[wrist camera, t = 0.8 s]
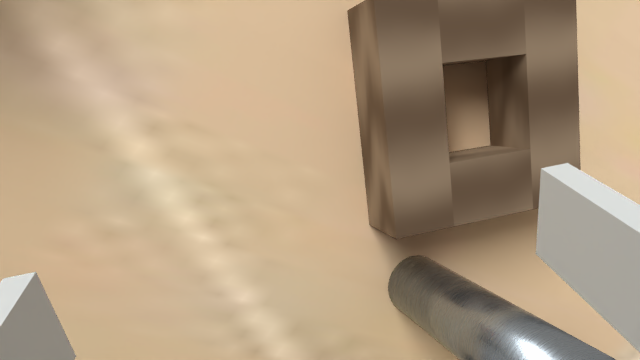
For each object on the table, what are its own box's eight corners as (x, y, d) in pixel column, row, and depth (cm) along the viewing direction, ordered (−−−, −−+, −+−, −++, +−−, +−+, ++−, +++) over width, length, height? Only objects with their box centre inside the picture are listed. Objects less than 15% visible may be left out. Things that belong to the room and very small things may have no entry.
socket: (538, 190, 37) (581, 198, 33) (369, 224, 33) (396, 239, 29) (530, -2, 34) (575, -17, 30) (347, 10, 30) (373, -5, 26)
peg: (442, 304, 35) (629, 432, 21) (391, 318, 34) (551, 463, 20) (438, 250, 35) (628, 343, 20) (385, 262, 33) (548, 371, 19)
